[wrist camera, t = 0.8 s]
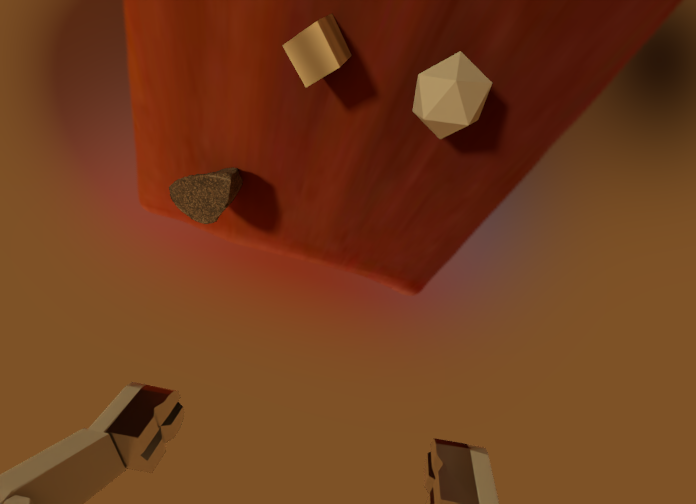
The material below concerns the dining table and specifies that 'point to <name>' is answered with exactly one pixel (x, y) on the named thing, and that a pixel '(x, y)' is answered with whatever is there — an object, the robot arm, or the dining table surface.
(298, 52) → the beech block
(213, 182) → the rock
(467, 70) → the die
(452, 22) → the dining table surface
